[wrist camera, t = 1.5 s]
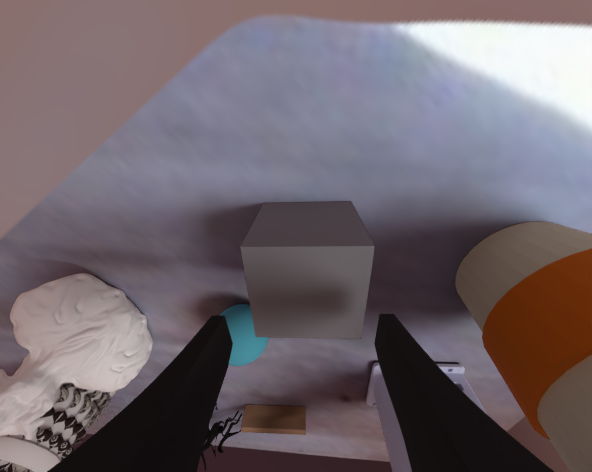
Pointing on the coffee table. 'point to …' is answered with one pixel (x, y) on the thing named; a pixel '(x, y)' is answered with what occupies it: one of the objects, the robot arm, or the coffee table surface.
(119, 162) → the coffee table surface
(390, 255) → the coffee table surface
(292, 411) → the stopper bar
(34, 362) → the bust
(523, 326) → the reusable coffee cup
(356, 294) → the grey matte cube
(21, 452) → the decorative candle
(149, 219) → the coffee table surface
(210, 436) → the creature
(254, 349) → the ball
